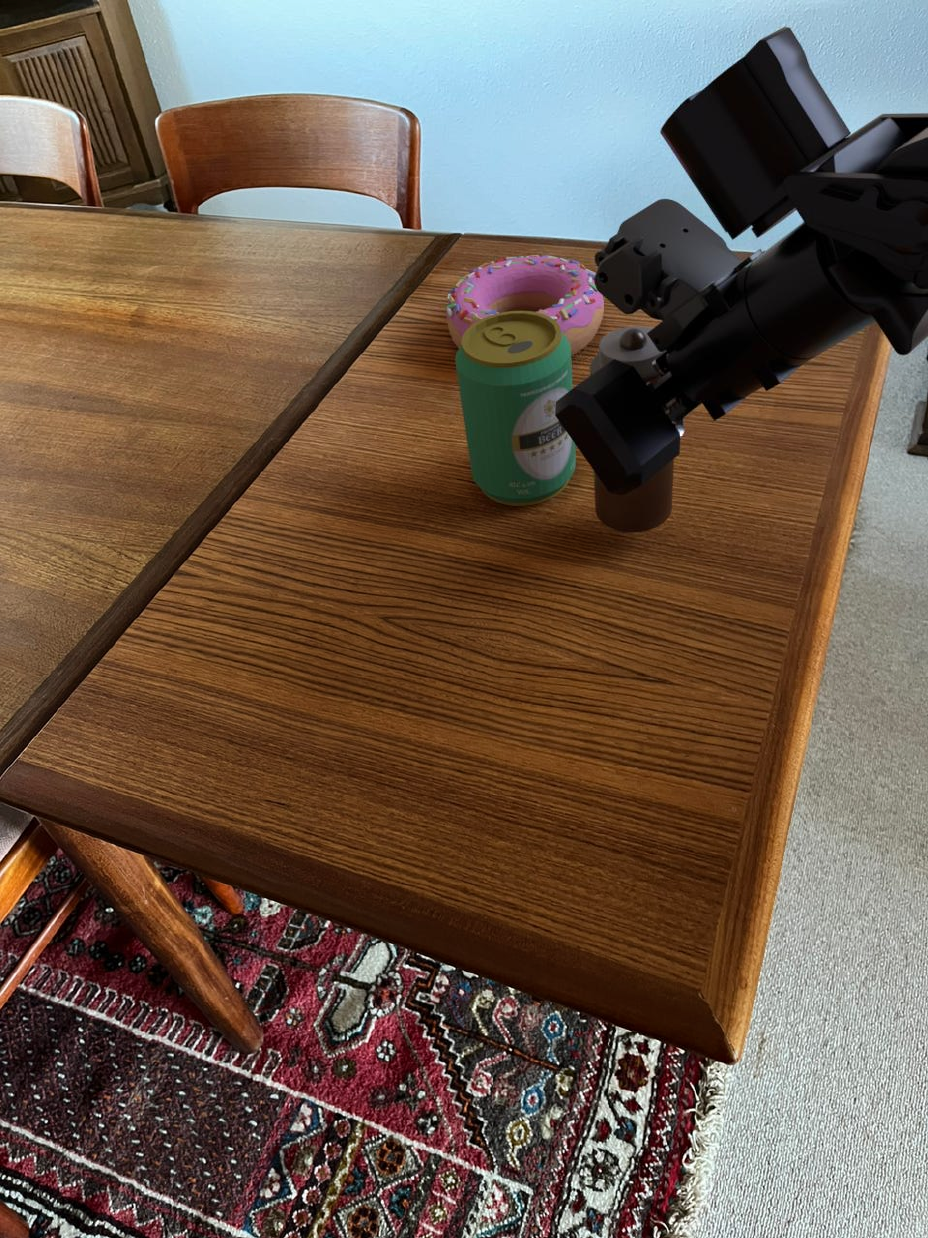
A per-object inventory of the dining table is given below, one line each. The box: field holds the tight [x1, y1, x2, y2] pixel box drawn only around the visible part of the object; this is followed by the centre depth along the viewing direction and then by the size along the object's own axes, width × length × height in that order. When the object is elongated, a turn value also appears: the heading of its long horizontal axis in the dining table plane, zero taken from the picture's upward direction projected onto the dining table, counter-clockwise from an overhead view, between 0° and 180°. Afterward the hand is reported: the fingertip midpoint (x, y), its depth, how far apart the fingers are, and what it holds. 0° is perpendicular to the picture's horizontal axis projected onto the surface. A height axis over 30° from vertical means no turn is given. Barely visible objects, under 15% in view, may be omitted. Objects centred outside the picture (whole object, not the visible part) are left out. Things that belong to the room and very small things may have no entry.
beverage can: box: [454, 311, 577, 507], centre depth 68 cm, size 8×8×12 cm
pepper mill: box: [589, 325, 676, 534], centre depth 60 cm, size 5×5×14 cm
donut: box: [445, 254, 605, 357], centre depth 85 cm, size 14×14×5 cm
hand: (616, 420), depth 60 cm, fingers closed on pepper mill, 5 cm apart
